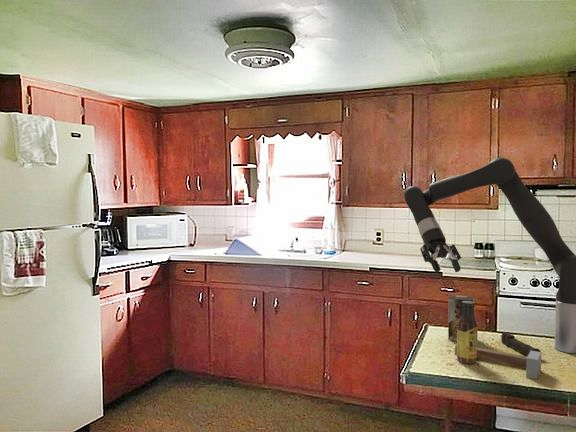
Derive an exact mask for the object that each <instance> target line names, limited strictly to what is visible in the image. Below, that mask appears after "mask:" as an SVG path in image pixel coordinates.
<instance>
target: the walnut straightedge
mask: <svg viewBox="0 0 576 432" xmlns="http://www.w3.org/2000/svg"><path fill="white" fill-rule="evenodd" d="M454 355H455V356H457V344H456V345H455V346H454ZM476 360H481V361H487V362H491V363H495V364H497V363H498V364H502V365H507V366H511V367H512V366H513V367H518V368H524V369H526V361H527V356H526V355H520V354H516V353H508V352H504V351H503V352H502V351H498V350H492V349H488V348H487V349H486V348H481V347H477V358H476Z"/></svg>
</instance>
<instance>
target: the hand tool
mask: <svg viewBox="0 0 576 432" xmlns="http://www.w3.org/2000/svg"><path fill="white" fill-rule="evenodd" d="M500 338H501V343H502V344H503V345H504V346H506V347H507V348H512V349H514V350H516V351H518V352H520V353H521V354H523V355H524V356H528V355H529V353H530V351H537V352H541V353H542V350H541V349H539V348H535V347H533V346H531V345H530V344H527V343H524V342H522V341H520V340H519V339H517V338H516V337H515V335H514V334H512V333H510V332H507V331H503V332H502V333H501V335H500Z"/></svg>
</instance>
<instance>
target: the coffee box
mask: <svg viewBox="0 0 576 432" xmlns="http://www.w3.org/2000/svg"><path fill="white" fill-rule="evenodd" d="M447 301H448V303H447V306H448V307H447V308H448V309H447V310H448V312H447V313H448V316H447V317H448V318H447V322H448V324H447V327H448V328H447V329H448V331H447V340H448V341H456V342H457V329H458V321H459V318H460V317H461V316H462V301H472V302H474V303H475V296H471V295H470V296H469V295H460V294H459V295H457V294H456V295H455V294H450V295H449V296H448V299H447Z"/></svg>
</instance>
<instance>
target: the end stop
mask: <svg viewBox="0 0 576 432" xmlns="http://www.w3.org/2000/svg"><path fill="white" fill-rule="evenodd" d="M525 370H526V371H525V373H526V374H525V378H527V379H533V380H538V379H539V377H540V374H541V372H542V351H541V352H537V351H530V353H529V355H528V356H527V361H526V368H525Z"/></svg>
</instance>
